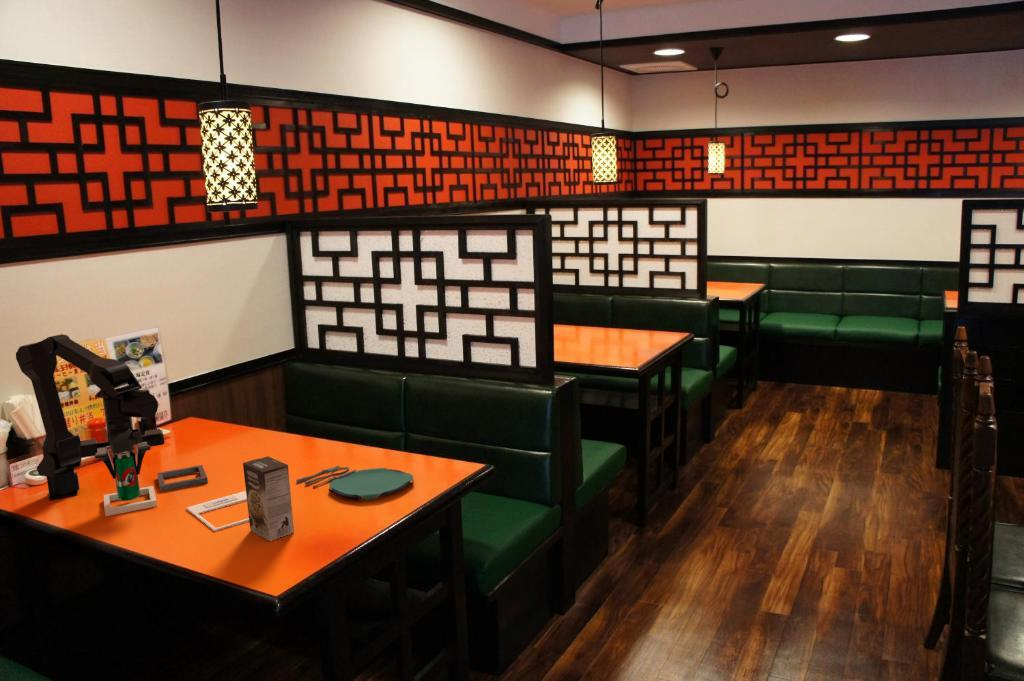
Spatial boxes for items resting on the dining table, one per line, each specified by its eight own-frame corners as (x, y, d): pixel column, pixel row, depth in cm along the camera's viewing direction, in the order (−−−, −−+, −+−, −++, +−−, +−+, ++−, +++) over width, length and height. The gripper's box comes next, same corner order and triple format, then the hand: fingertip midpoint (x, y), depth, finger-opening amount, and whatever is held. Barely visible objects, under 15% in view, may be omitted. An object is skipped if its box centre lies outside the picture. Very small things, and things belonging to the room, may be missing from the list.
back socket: (161, 491, 211) (160, 486, 211) (157, 478, 221) (156, 473, 221) (207, 482, 216) (207, 477, 216) (202, 470, 226) (201, 465, 226)
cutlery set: (370, 509, 194) (369, 500, 194) (289, 487, 212) (288, 479, 212) (427, 483, 210) (427, 475, 210) (347, 465, 228) (346, 457, 227)
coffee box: (248, 531, 184) (241, 462, 181) (275, 522, 189) (268, 454, 186) (269, 542, 178) (261, 471, 175) (295, 533, 182) (288, 463, 179)
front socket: (105, 516, 196) (104, 510, 196) (104, 500, 206) (103, 494, 206) (157, 506, 201) (156, 500, 201) (153, 491, 211) (153, 485, 211)
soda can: (144, 493, 206) (138, 447, 203) (133, 501, 201) (127, 454, 199) (125, 493, 206) (119, 447, 204) (113, 501, 201) (107, 454, 199)
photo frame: (244, 490, 208) (275, 510, 194) (245, 494, 208) (276, 514, 194) (186, 506, 198) (214, 528, 185) (186, 511, 199) (214, 533, 185)
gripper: (74, 430, 188) (83, 494, 191) (162, 417, 197) (170, 479, 200) (75, 418, 198) (84, 479, 201) (158, 406, 206) (166, 465, 209)
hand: (126, 476), depth 203 cm, fingers closed on soda can, 5 cm apart
